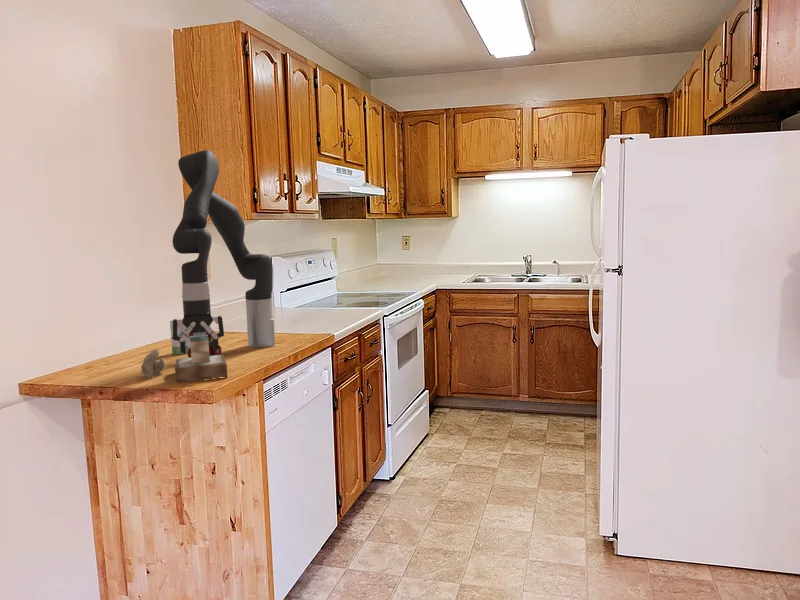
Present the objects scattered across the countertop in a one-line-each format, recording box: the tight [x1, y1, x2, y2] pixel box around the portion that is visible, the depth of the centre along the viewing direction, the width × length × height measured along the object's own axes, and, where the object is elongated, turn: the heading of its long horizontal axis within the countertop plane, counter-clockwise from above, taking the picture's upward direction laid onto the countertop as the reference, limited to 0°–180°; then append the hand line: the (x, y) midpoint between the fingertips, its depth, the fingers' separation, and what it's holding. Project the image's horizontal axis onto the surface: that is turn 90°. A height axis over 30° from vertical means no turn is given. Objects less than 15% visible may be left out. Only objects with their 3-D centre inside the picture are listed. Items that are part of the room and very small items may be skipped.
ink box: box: [169, 317, 191, 355], centre depth 217 cm, size 8×5×12 cm, turn 151°
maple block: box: [190, 335, 210, 363], centre depth 182 cm, size 5×5×7 cm
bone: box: [140, 348, 165, 380], centre depth 183 cm, size 9×6×10 cm
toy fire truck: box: [186, 331, 222, 358], centre depth 207 cm, size 7×12×10 cm, turn 157°
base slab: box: [174, 354, 228, 384], centre depth 183 cm, size 14×14×4 cm
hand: (199, 352), depth 182 cm, fingers open, 8 cm apart
